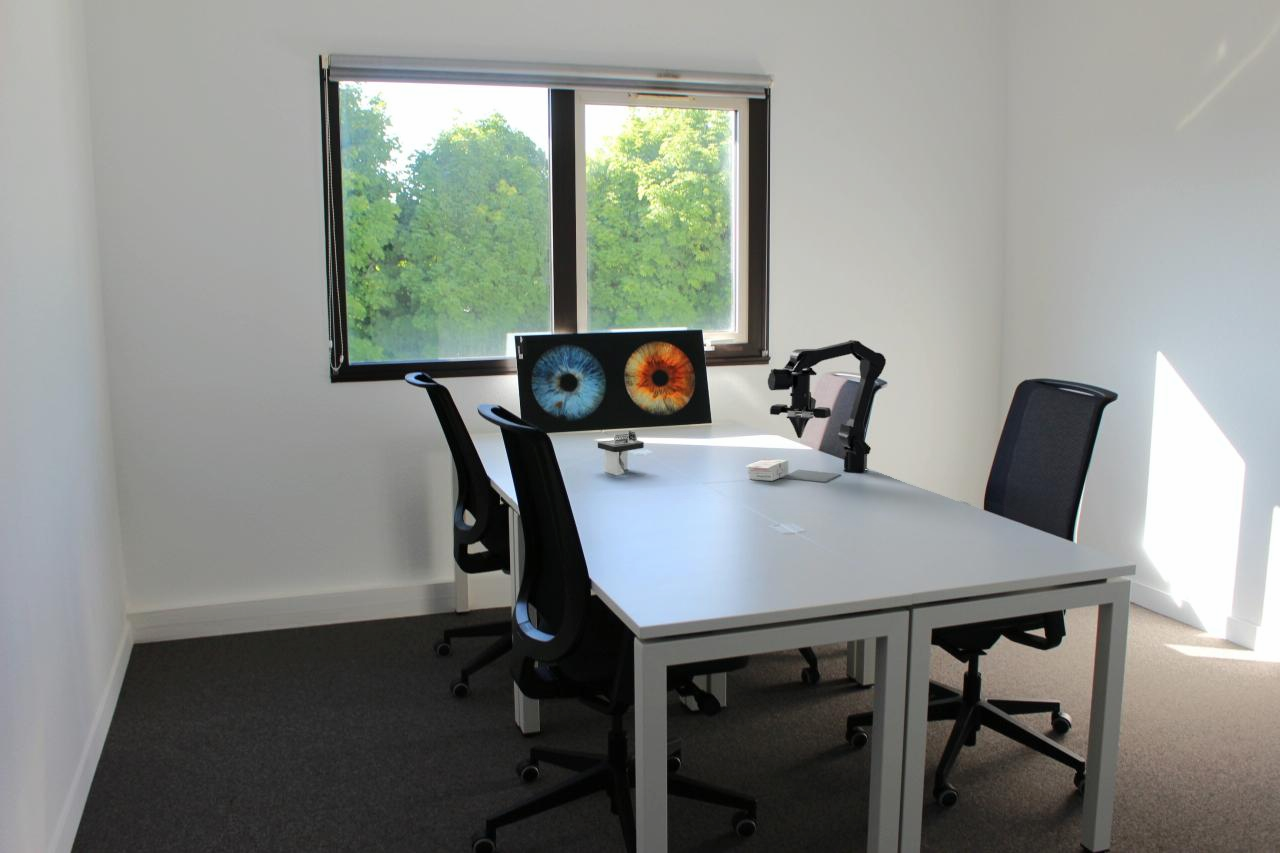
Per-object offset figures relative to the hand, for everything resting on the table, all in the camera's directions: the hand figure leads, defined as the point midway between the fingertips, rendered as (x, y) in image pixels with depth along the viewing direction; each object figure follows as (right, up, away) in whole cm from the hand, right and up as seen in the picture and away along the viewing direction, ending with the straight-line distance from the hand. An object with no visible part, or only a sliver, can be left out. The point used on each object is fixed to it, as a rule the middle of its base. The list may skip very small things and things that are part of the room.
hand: (799, 437), depth 348 cm
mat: (+3, -12, -2) cm, 13 cm away
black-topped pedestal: (-57, -12, +6) cm, 58 cm away
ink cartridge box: (-7, -9, +2) cm, 12 cm away
